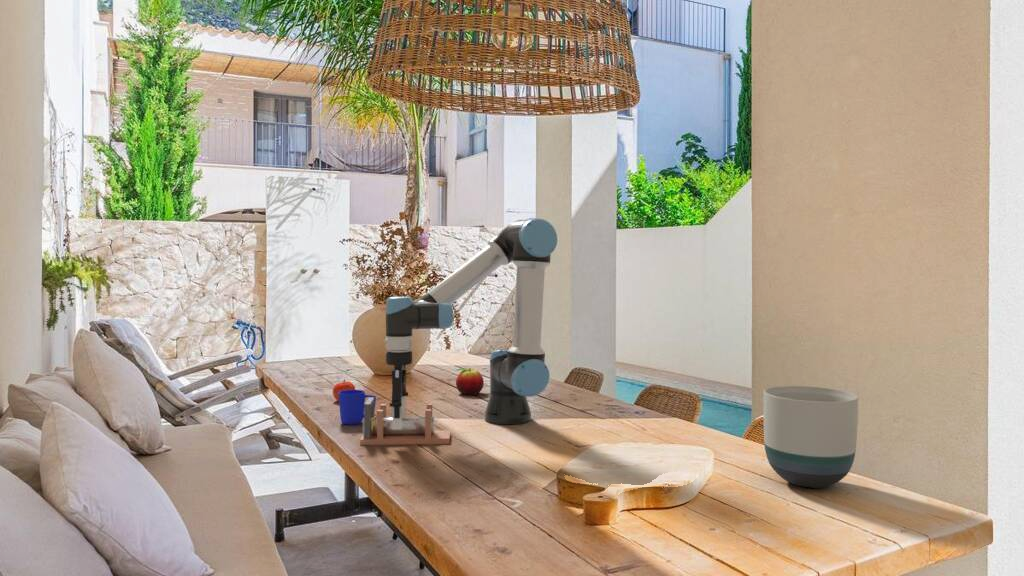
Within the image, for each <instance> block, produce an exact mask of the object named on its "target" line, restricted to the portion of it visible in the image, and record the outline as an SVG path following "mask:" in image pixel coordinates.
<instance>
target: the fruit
mask: <svg viewBox="0 0 1024 576" xmlns="http://www.w3.org/2000/svg"><path fill="white" fill-rule="evenodd" d="M456 371H460V372H459V374H458V375H457V377H456V379H455V385H456V389H457V391H458V392H459V393H460V394H462V395H465V396H474V395H478V394H480V393H481V391H482V389H483V387H484V382H485V381H484V378H483V375H482V374H481V373H480V372H479V370H476V369H471V368H468V369H467V368H461V367H460V368H457V369H456Z"/></svg>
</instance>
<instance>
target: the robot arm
mask: <svg viewBox="0 0 1024 576" xmlns="http://www.w3.org/2000/svg"><path fill="white" fill-rule="evenodd" d="M557 243H558V234H557V232H556V229H555V227H554V226H553V225H552V223H550V222H549V221H548V220H545V219H542V218H537V217H534V218H533V217H532V218H531V217H530V218H527V219H517V220H515V221H513V222H511V223H510V224H508V225H506V227H504V228H503V229H502V230H500V232H499V231H498V233H496V235H495V236H493V237H492V238H491V239H490V240H488V241H487V246H486V247H484V248H483V249H482V250H480V251H479V252H478V253H477V254H475V255H474V256H472V258H469V260H468V261H466V262H465V263H463V265H461V266H460V267H458V268H457V269H456V270H454V271H453V272H452V273H451V274H449V275H448V276H447V277H445V278H444V279H443V280H442V281H441V282H439V283H438V284H436V285H435V286H434V287H433V288H431V289H430V290H429V291H427V292H426V293H424V294H423V295H422V296H421V297H420V298H418V299H415V300H413V298H412V297H411V296H390V297H388V298H386V301H385V311H384V312H385V338H384V339H383V343H386V344H385V349H386V350H387V351H385V364H386V365H389V366H394V369H392V371H391V378H392V379H391V384H392V386H391V387H392V388H391V403H389V407H391V417H392V430H394V429H402V417H407V397H408V396H409V392H408V391H407V384H406V381H407V374H408V373H407V369H406V366H409V365H412V363H413V351H412V349H413V330H432V329H433V330H434V329H436V330H437V329H439V330H442V329H448V328H451V327H452V325H453V323H454V310H453V309H454V308H453V306H452V305H453V304H454V303H455V302H457V301H458V300H459V299H460V298H461V297H463V296H464V295H465V294H466V293H468V292H469V291H471V290H472V289H474V287H475V286H477V285H478V284H480V283H481V282H482V281H483V280H485V279H486V278H487V277H488V276H490V275H491V274H492V273H493V272H494V271H496V270H497V269H498V268H500V267H501V266H502V265H503V266H508V265H509V263H511V262H512V263H513V264H514V265H515V266H516V278H515V279H516V280H515V281H516V282H515V299H514V312H513V313H514V315H513V316H514V317H513V318H514V319H513V332H512V333H513V337H512V345H511V346H510V347H509V348H508V349H494V350H492V351H491V352H490V358H489V376H490V377H489V385H490V386H489V391H490V393H489V399H488V402H487V405H486V408H485V411H484V420H485V421H486V422H487V423H488V422H489V423H491V424H498V425H517V424H518V425H520V424H524V423H529V422H531V421H532V411H531V408H530V405H529V402H528V398H530V397H536V396H538V395H539V394H541V393H542V392H543V391H545V389H546V388H547V386H548V384H549V382H550V374H551V373H550V370H549V368H548V367H547V364H546V363H545V360H546V351H544V349H543V348H542V346H541V342H542V341H541V340H542V326H543V325H542V323H543V310H544V307H543V306H544V289H545V274H546V273H545V271H546V268H547V267H549V266H550V265H551V256H552V253H553V252H554V251H555V249H556V247H557ZM527 397H528V398H527Z"/></svg>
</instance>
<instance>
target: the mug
mask: <svg viewBox="0 0 1024 576" xmlns="http://www.w3.org/2000/svg"><path fill="white" fill-rule="evenodd" d="M338 394H339V401H338V404H339V415H340V421H341V423H342V424H343V425H349V426H352V425H353V426H354V425H359V424H361V423H363V418H364V404H365V402H366V399H367V398H369V397H374V412H375V410H376V400H377V397H376V395H373V394H366V392H365V390H362V389H355V390H344V391H340V392H339V393H338Z"/></svg>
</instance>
